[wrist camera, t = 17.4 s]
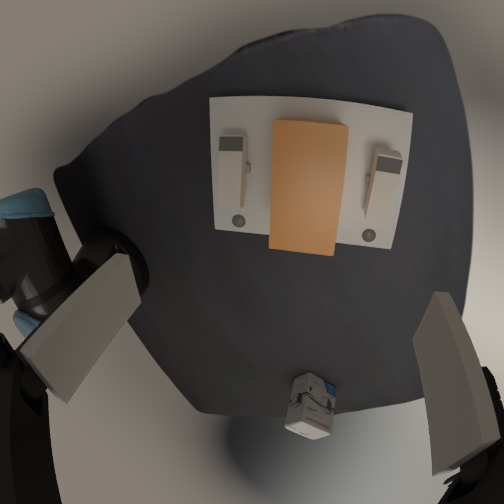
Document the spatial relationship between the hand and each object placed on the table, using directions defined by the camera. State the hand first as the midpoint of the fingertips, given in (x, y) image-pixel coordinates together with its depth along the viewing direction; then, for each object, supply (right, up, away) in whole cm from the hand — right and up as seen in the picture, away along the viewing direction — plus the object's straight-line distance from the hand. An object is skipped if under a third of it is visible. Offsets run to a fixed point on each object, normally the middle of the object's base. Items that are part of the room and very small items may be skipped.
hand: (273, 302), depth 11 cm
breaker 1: (-3, +11, +19) cm, 22 cm away
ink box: (+12, -26, +42) cm, 50 cm away
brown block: (+6, +11, +19) cm, 23 cm away
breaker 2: (+13, +9, +15) cm, 22 cm away
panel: (+6, +12, +21) cm, 25 cm away
